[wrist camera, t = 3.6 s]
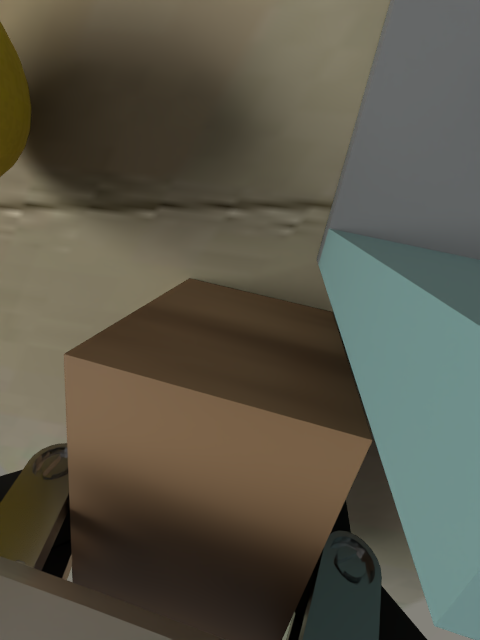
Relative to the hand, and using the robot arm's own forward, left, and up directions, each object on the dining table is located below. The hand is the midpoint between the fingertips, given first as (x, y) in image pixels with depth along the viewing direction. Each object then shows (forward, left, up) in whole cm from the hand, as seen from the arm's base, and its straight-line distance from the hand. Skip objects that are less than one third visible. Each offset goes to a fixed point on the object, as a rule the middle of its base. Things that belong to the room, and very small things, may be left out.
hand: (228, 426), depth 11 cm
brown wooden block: (0, 0, -1) cm, 1 cm away
